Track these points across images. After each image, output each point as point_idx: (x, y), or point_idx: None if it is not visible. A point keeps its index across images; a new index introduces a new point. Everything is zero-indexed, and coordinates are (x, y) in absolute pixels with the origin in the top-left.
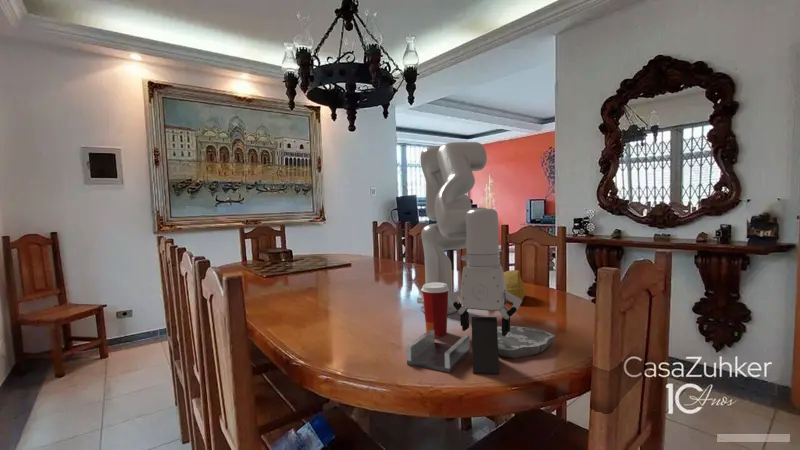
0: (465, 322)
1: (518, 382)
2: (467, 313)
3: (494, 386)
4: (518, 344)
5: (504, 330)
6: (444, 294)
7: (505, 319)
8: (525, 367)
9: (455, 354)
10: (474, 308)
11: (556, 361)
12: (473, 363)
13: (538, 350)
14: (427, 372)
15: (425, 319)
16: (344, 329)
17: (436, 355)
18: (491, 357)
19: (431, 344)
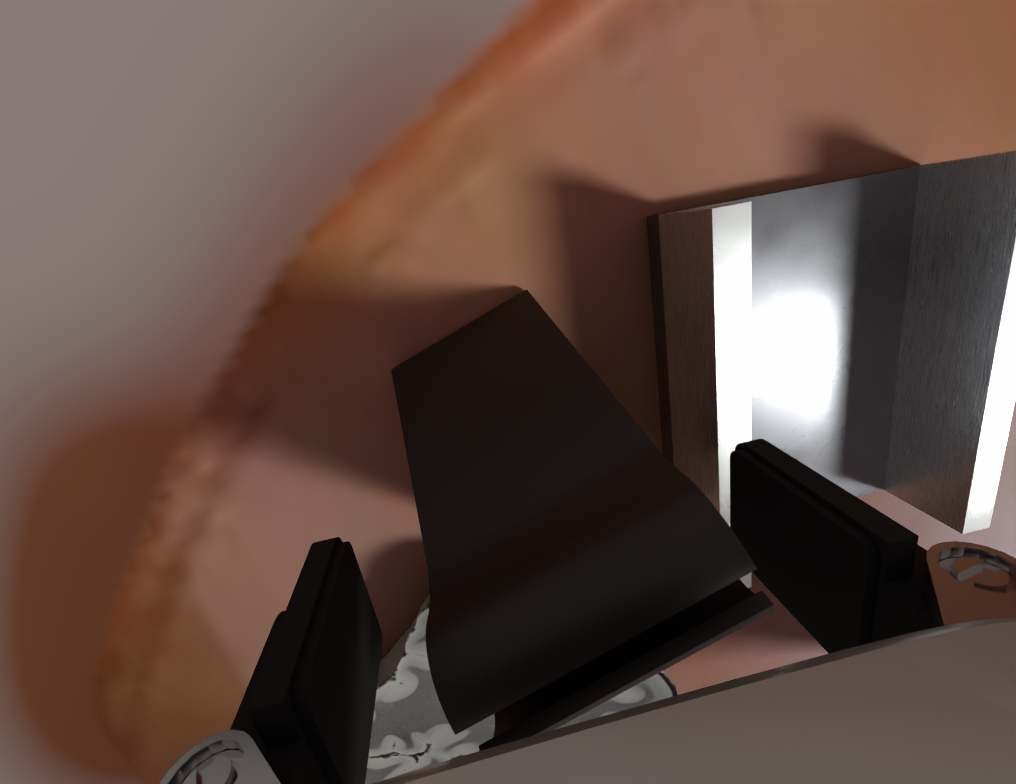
0: (787, 504)
1: (249, 343)
2: (858, 641)
3: (332, 208)
4: (434, 689)
5: (298, 578)
6: None
7: (269, 733)
8: (324, 531)
9: (691, 329)
10: (814, 665)
11: (234, 678)
12: (539, 314)
13: None
14: (767, 137)
15: None
16: None
17: (807, 338)
18: (443, 400)
19: (889, 452)
